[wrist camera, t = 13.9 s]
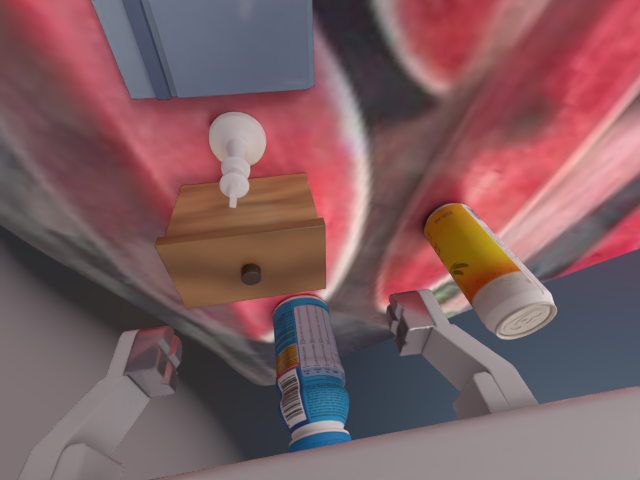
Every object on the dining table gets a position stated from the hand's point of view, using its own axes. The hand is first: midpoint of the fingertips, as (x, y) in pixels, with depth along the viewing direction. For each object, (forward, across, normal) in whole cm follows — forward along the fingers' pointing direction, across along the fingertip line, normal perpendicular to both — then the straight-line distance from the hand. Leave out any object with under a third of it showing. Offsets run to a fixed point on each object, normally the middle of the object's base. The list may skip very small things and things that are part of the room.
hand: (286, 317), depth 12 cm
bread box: (+20, +3, +9) cm, 22 cm away
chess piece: (+20, +3, +2) cm, 21 cm away
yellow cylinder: (+20, -20, +14) cm, 32 cm away
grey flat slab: (+20, +3, -7) cm, 22 cm away
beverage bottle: (+20, -1, +28) cm, 34 cm away
